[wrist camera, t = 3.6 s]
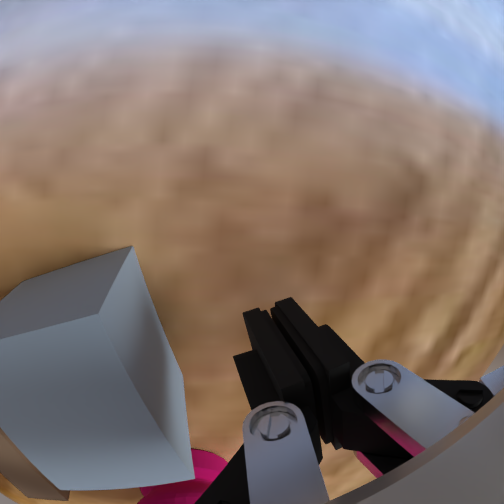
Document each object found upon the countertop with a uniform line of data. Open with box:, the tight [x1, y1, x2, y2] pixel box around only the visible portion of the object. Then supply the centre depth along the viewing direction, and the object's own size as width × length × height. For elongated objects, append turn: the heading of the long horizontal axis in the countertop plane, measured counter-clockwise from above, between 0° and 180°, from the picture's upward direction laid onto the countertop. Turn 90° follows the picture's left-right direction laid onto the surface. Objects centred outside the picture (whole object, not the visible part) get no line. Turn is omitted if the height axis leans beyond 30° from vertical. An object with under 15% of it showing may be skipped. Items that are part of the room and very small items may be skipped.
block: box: [0, 246, 195, 490], centre depth 10 cm, size 7×6×6 cm
